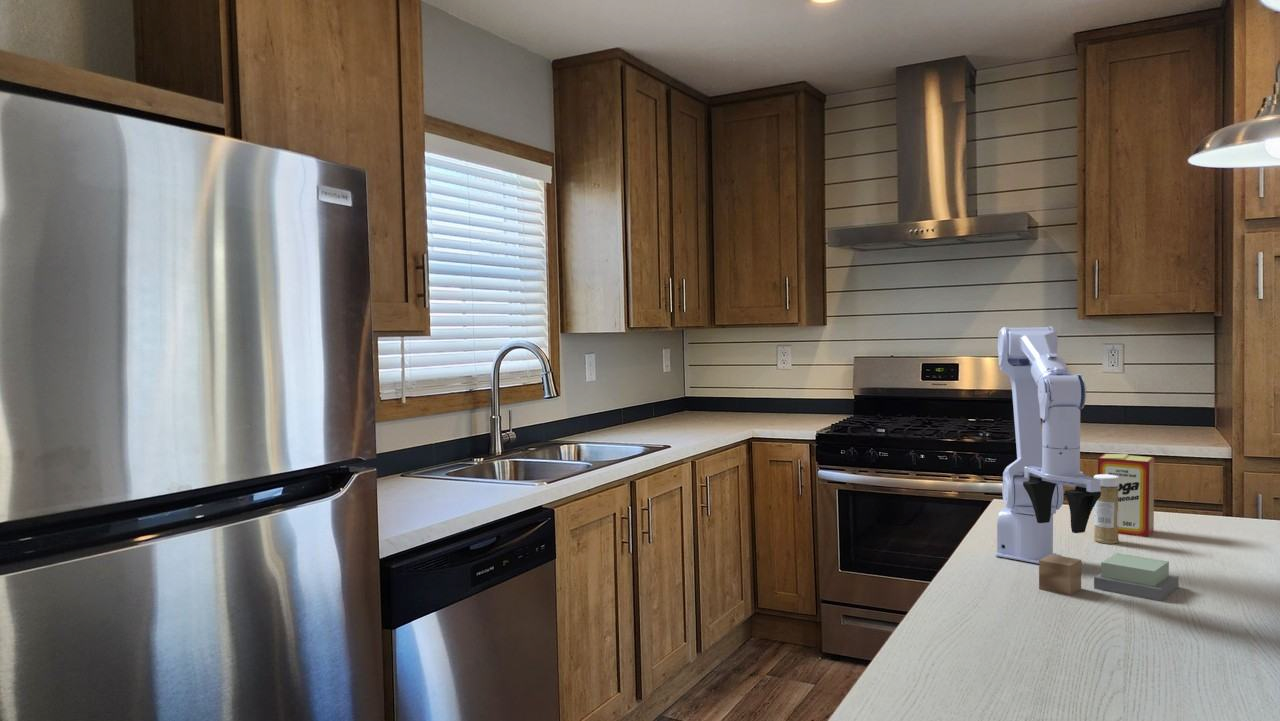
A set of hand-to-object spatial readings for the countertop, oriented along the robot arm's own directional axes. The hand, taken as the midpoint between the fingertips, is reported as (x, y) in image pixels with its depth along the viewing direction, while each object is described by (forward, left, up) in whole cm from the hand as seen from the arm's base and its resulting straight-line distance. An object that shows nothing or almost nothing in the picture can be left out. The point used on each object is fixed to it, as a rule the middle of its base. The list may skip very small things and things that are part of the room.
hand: (1060, 527), depth 149 cm
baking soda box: (-5, +50, -11) cm, 51 cm away
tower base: (+9, +9, -11) cm, 17 cm away
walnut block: (0, 0, -10) cm, 10 cm away
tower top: (+9, +9, -9) cm, 15 cm away
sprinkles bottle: (-5, +38, -11) cm, 40 cm away
